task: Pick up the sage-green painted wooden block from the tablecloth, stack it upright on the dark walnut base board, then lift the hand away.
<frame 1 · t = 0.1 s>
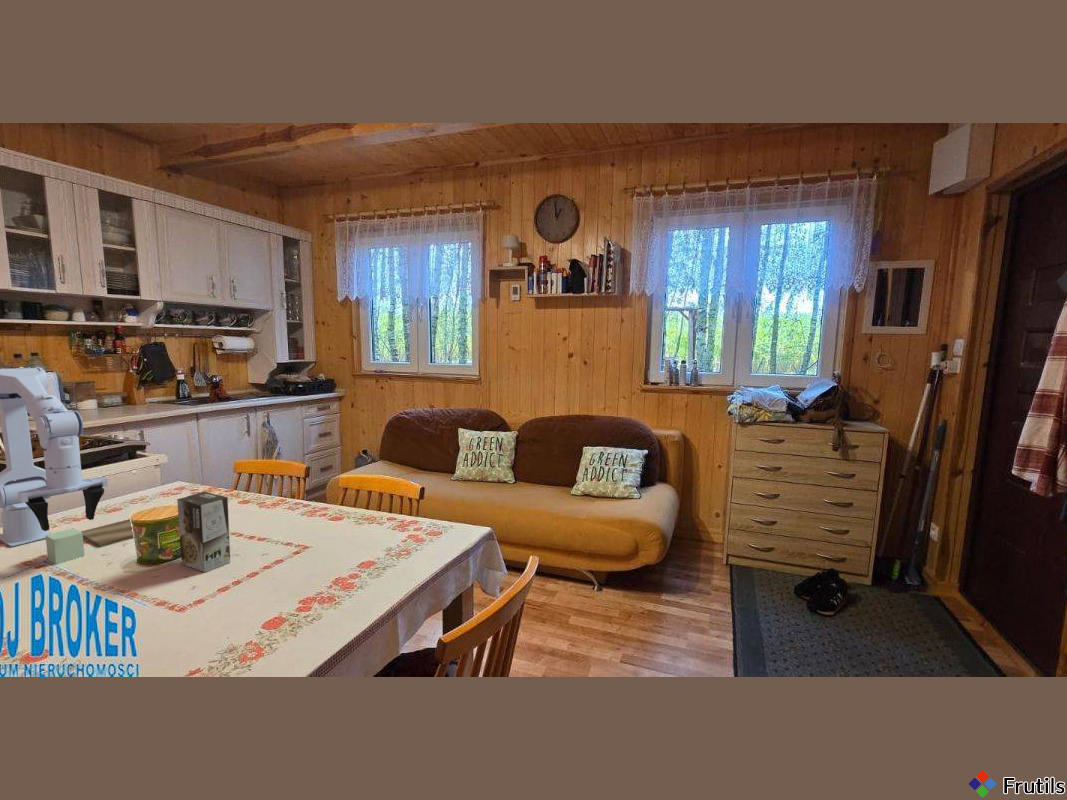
hand: (68, 524, 109), 10 cm above the table, tool pointing down, fingers open, 7 cm apart
walnut base board: (120, 532, 129), on the table
sage block: (66, 558, 114), on the table
coffee box: (206, 563, 114), on the table
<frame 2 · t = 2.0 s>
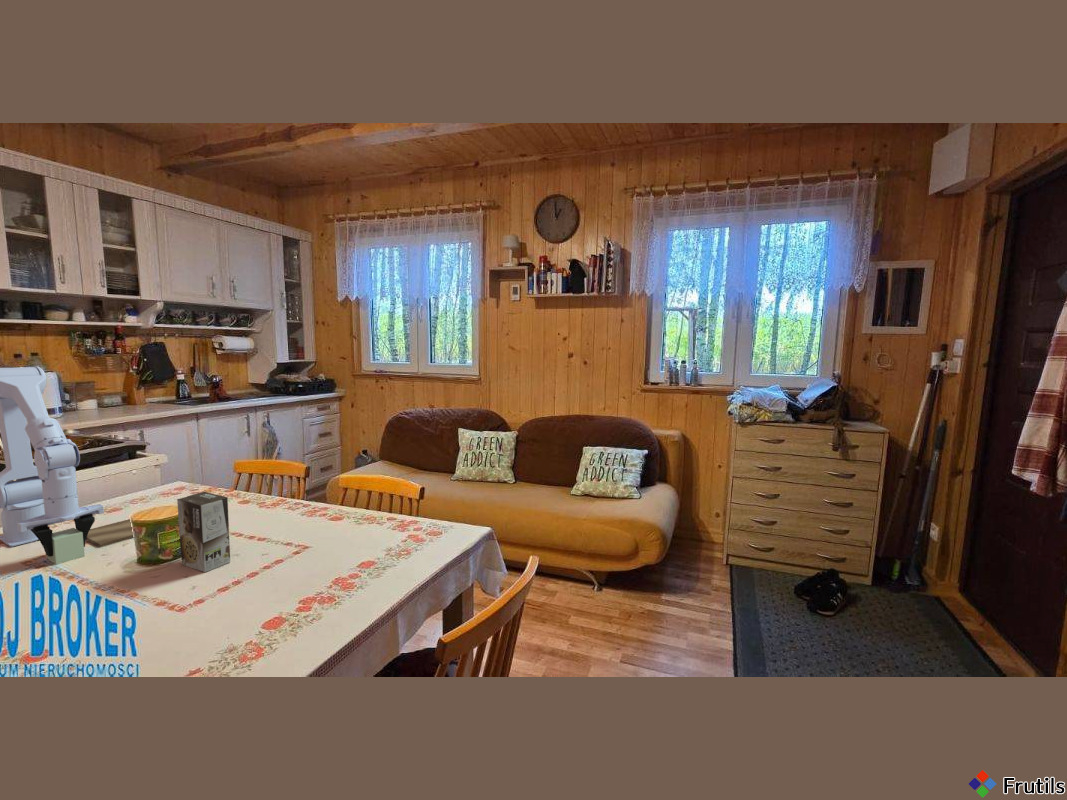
hand: (65, 550, 114), 2 cm above the table, tool pointing down, fingers closed on sage block, 5 cm apart
sage block: (66, 557, 114), on the table, touching gripper
everything else where it was.
when the fingers open (4 cm above the table, at t = 7.4 s): sage block drops 1 cm, resting on walnut base board.
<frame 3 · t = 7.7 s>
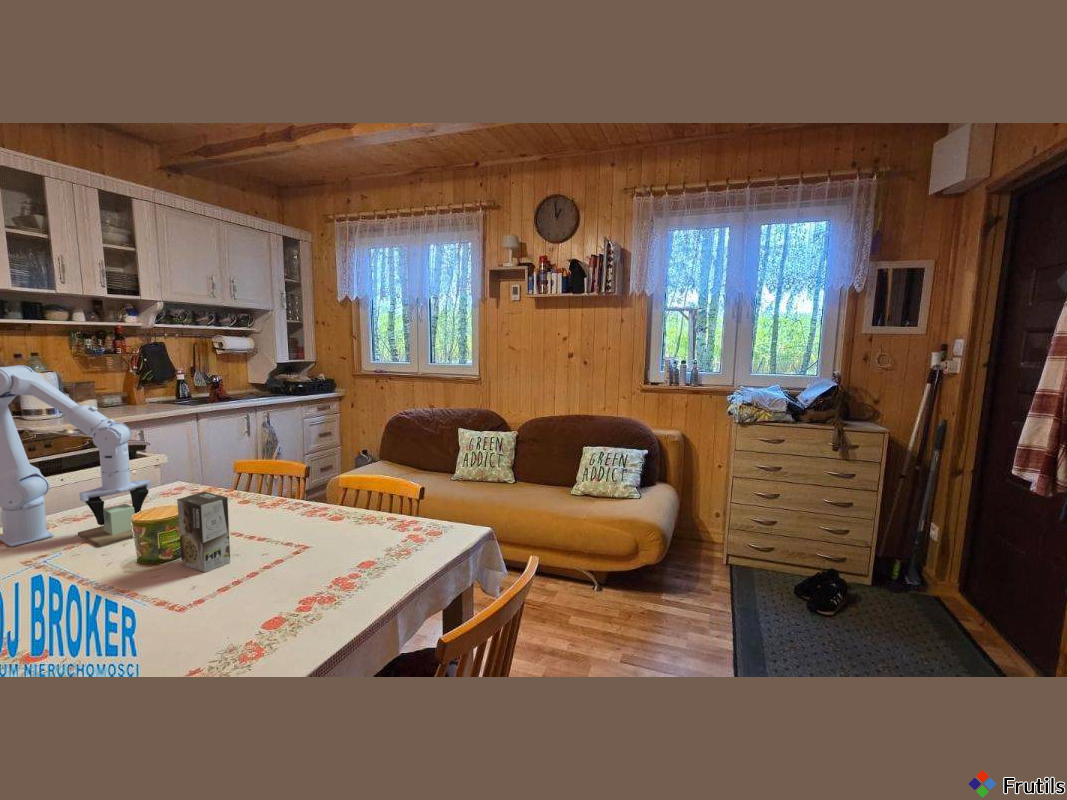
hand: (119, 519, 128), 4 cm above the table, tool pointing down, fingers open, 7 cm apart
sage block: (119, 529, 128), point 1 cm above the table, touching walnut base board
everything else where it was.
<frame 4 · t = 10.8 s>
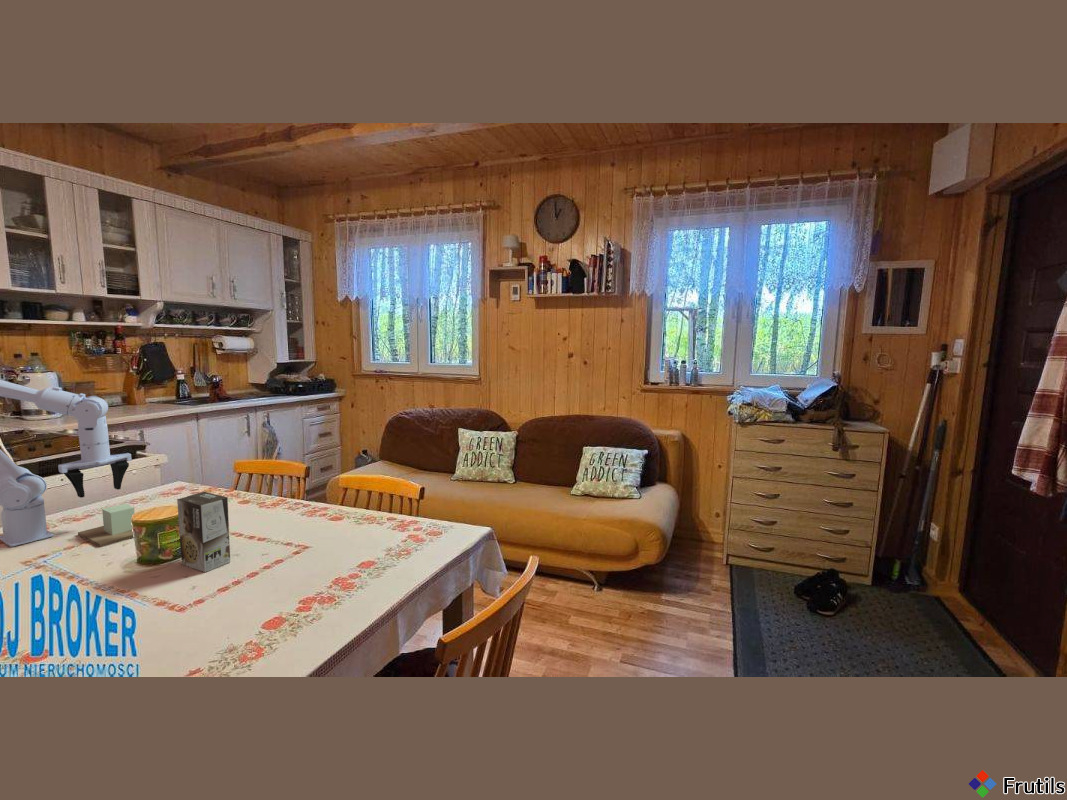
hand: (99, 492, 129), 10 cm above the table, tool pointing down, fingers open, 7 cm apart
nothing on the table moved.
at the end: sage block inside the target area on the walnut base board (0.0 cm from its centre), point 0.8 cm above the walnut base board's base; sage block tilted 0°; the gripper is holding nothing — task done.
